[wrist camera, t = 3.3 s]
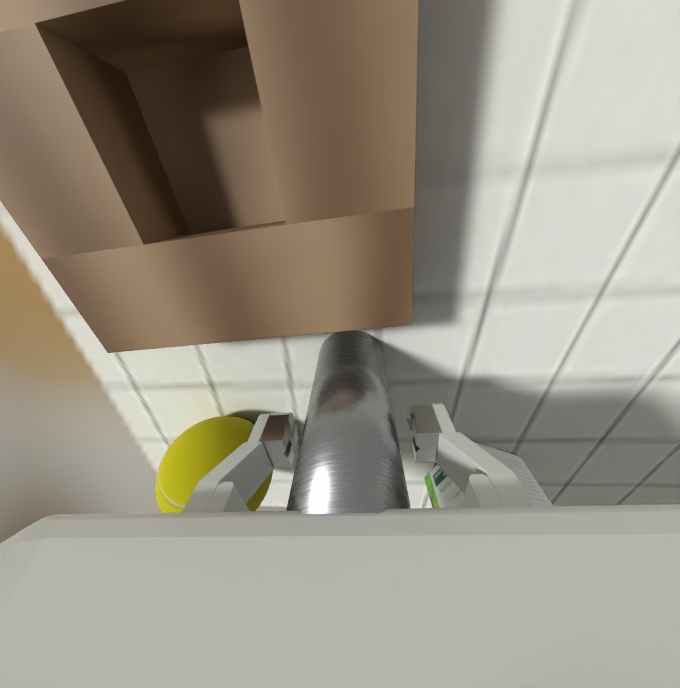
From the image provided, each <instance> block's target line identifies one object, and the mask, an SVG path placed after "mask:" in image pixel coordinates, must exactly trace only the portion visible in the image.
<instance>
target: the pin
mask: <svg viewBox="0 0 680 688" xmlns="http://www.w3.org/2000/svg"><path fill="white" fill-rule="evenodd" d="M387 509H411V508H410V502H409V497H408V492H407V486H406V481H405V476H404V470H403V465H402V460H401V454H400V449H399V443H398V438H397V433H396V427H395V422H394V417H393V411H392V406H391V401H390V395H389V390H388V385H387V379H386V374H385V368H384V363H383V358H382V352H381V349H380V346H379V344H378V343H377V341H376V340H375V339H374V338H373V337H372V336H370V335H369V334H367V333H365V332H362V331H358V330H351V331H340V332H336V333H334V334H332V335H331V336H329V337H328V338H327V339H326V340H325V341H324V343H323V344H322V346H321V349H320V353H319V358H318V363H317V368H316V372H315V377H314V382H313V387H312V391H311V396H310V401H309V406H308V410H307V415H306V420H305V425H304V429H303V434H302V439H301V444H300V448H299V453H298V458H297V463H296V467H295V472H294V477H293V482H292V486H291V491H290V496H289V500H288V505H287V510H286V511H300V512H301V513H302V514H339V513H381V512H383V511H384V510H387Z"/></svg>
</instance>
